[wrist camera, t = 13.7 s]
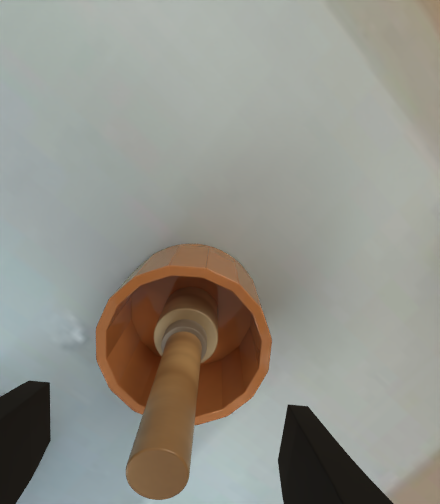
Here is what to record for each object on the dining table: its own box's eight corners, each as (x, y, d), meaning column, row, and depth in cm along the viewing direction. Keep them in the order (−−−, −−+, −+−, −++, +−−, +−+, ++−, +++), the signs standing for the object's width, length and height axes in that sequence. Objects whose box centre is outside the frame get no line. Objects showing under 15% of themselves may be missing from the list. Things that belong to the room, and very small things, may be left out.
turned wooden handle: (167, 338, 18) (106, 525, 8) (161, 288, 17) (88, 428, 8) (220, 335, 18) (220, 519, 8) (216, 284, 17) (212, 421, 8)
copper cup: (154, 381, 19) (134, 443, 15) (105, 268, 18) (66, 298, 13) (274, 345, 19) (291, 398, 14) (234, 225, 17) (240, 241, 13)
